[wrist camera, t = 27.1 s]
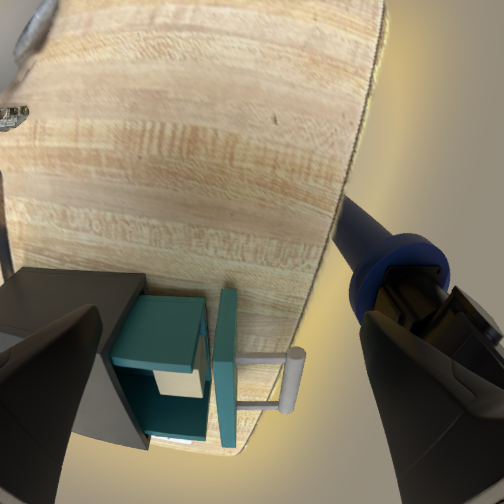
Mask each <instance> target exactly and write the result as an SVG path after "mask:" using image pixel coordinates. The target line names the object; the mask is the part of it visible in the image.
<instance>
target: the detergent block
mask: <svg viewBox="0 0 504 504" xmlns="http://www.w3.org/2000/svg"><path fill="white" fill-rule="evenodd" d="M206 371H207V355H206V346H205V336H204V335H199V341H198V346H197V351H196V357H195V362H194V368H193V373H192V374H188V373H176V372H165V371H155V370H153V372H154V376H155V379H156V382H157V385H158V388H159V391H160V394H163V395H173V396H184V397H197V398H203V394H204V386H205V379H206Z"/></svg>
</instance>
